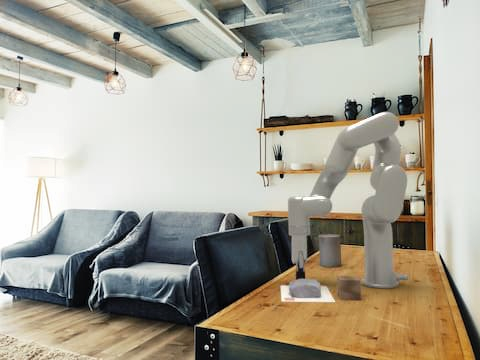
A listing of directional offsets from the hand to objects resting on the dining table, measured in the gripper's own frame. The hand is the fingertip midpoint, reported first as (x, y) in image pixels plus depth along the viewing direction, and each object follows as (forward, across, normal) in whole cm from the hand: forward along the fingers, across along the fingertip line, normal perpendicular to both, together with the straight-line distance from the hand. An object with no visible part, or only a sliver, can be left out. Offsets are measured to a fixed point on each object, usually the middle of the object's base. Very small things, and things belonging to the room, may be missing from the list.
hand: (300, 282), depth 133 cm
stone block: (+1, +12, 0) cm, 12 cm away
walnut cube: (+1, +16, +14) cm, 21 cm away
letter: (+1, +11, +1) cm, 11 cm away
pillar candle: (+1, -38, +16) cm, 41 cm away
